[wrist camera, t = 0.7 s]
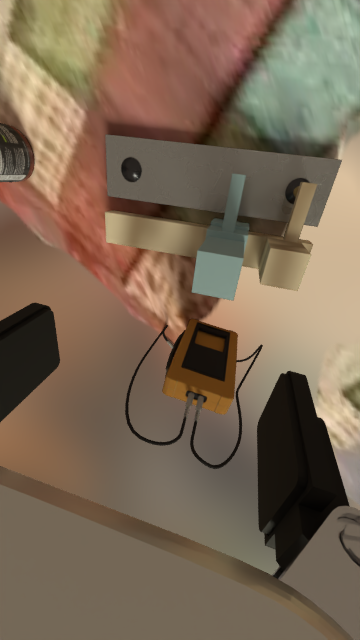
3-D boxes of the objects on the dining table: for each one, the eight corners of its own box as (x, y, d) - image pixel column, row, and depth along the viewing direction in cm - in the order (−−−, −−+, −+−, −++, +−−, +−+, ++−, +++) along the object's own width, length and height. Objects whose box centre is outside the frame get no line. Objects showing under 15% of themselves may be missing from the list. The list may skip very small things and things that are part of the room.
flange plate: (338, 160, 25) (342, 159, 23) (314, 225, 28) (317, 226, 26) (110, 136, 28) (105, 134, 27) (112, 195, 31) (107, 196, 30)
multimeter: (155, 359, 42) (94, 479, 25) (167, 309, 37) (98, 418, 20) (240, 388, 41) (234, 534, 24) (264, 340, 36) (278, 484, 19)
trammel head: (259, 177, 26) (266, 176, 16) (238, 269, 31) (233, 310, 21) (221, 172, 27) (206, 168, 17) (206, 263, 32) (187, 301, 22)
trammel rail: (329, 186, 26) (353, 188, 20) (298, 271, 30) (310, 293, 24) (111, 159, 29) (76, 154, 23) (113, 239, 34) (84, 251, 28)
